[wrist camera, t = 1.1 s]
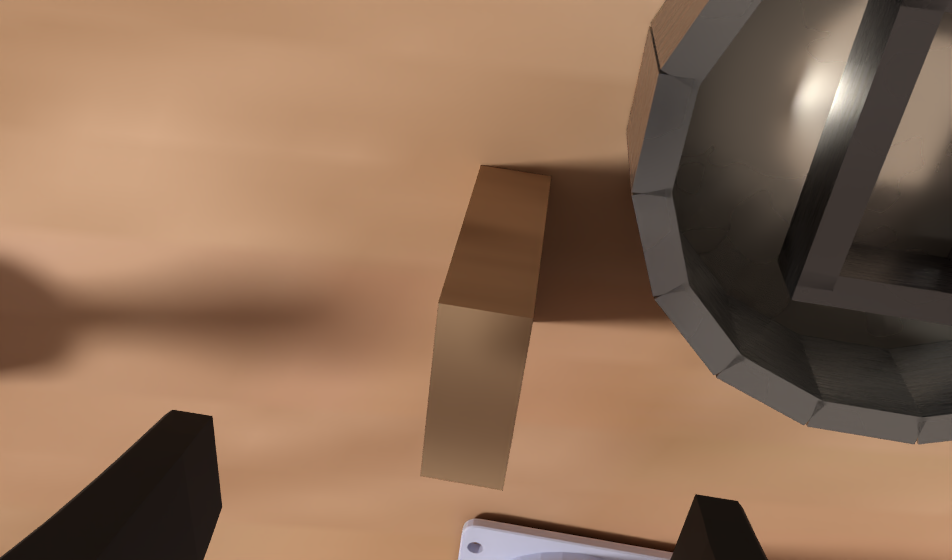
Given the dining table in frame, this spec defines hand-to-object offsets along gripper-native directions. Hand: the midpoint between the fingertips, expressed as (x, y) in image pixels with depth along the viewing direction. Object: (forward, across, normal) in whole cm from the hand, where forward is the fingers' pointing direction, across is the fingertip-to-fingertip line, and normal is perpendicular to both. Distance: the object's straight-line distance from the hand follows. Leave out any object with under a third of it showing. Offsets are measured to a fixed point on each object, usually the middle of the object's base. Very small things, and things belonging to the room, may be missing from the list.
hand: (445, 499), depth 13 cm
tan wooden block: (+10, 0, +2) cm, 11 cm away
